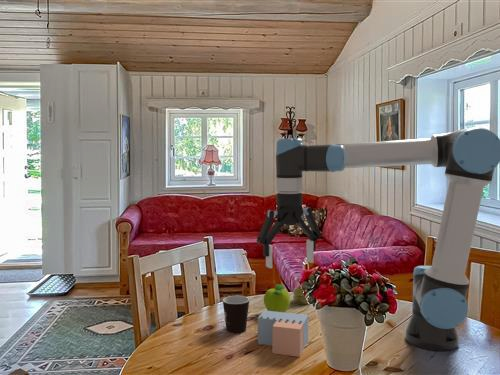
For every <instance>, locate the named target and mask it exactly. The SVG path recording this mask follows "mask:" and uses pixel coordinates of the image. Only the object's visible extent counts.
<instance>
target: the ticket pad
mask: <svg viewBox="0 0 500 375" xmlns="http://www.w3.org/2000/svg"><path fill="white" fill-rule="evenodd" d="M277 320H281V321H289V322H298V323H304V339H303V351H304V349H305V348H306V346H307V344H308V342H309V314H303V313H302V314H301V313H294V312H275V311H268V310H267V309H265V310H263V311H262V313H260V315H259V316H258V317H257V344H258V345H265V346H266V345H267V346H272V347H273V325H274V324H275V322H276V321H277Z"/></svg>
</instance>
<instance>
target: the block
mask: <svg viewBox="0 0 500 375" xmlns="http://www.w3.org/2000/svg"><path fill="white" fill-rule="evenodd" d="M303 339H304V323H298V322H289V321H281V320H277V321H276V322H275V324H274V325H273V346H272V354H276V355H282V356H283V355H284V356H292V357H299V358H300V357H301V355H302V354H303V351H304V350H303Z"/></svg>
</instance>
